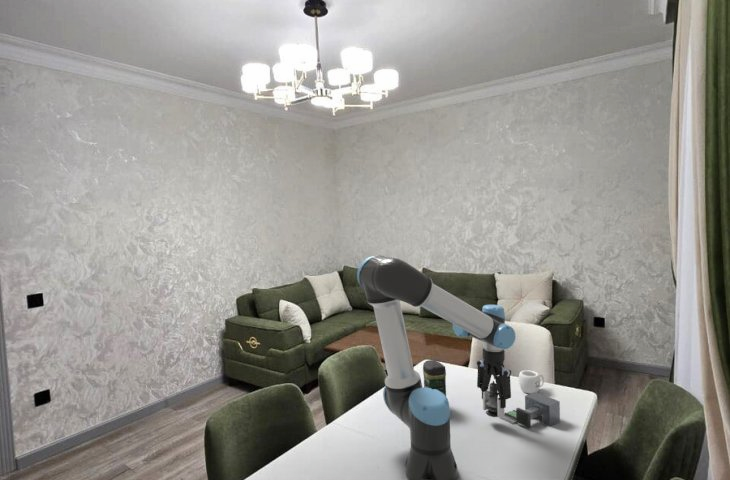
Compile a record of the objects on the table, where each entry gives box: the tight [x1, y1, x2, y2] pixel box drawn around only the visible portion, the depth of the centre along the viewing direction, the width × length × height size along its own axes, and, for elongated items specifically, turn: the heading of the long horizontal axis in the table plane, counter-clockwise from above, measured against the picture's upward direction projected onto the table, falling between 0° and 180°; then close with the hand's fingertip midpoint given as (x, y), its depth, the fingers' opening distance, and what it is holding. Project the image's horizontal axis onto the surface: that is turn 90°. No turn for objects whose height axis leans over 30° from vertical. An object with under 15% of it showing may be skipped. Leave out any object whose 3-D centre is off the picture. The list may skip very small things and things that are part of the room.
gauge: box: [498, 392, 561, 428], centre depth 148 cm, size 15×14×8 cm
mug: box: [518, 369, 545, 395], centre depth 172 cm, size 12×8×8 cm
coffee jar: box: [422, 359, 447, 397], centre depth 159 cm, size 10×8×19 cm
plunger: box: [504, 406, 542, 429], centre depth 147 cm, size 9×10×5 cm
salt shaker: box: [485, 380, 499, 418], centre depth 145 cm, size 6×6×12 cm
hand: (493, 412), depth 145 cm, fingers closed on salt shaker, 6 cm apart
